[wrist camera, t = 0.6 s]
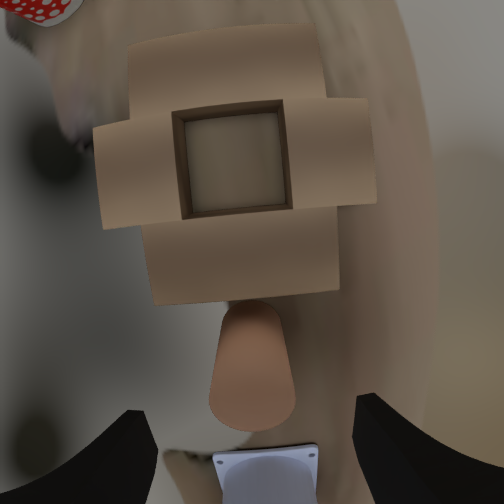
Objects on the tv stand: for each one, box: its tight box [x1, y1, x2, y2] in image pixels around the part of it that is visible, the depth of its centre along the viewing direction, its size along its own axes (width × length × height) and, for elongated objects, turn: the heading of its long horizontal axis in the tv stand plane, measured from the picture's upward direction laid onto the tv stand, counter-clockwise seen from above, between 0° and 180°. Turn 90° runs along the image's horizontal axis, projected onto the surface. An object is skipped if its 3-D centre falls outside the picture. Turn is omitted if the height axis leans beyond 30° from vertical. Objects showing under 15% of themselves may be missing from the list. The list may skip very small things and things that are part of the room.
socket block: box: [93, 23, 377, 306], centre depth 15 cm, size 13×13×3 cm
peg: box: [209, 300, 296, 432], centre depth 15 cm, size 4×4×7 cm
